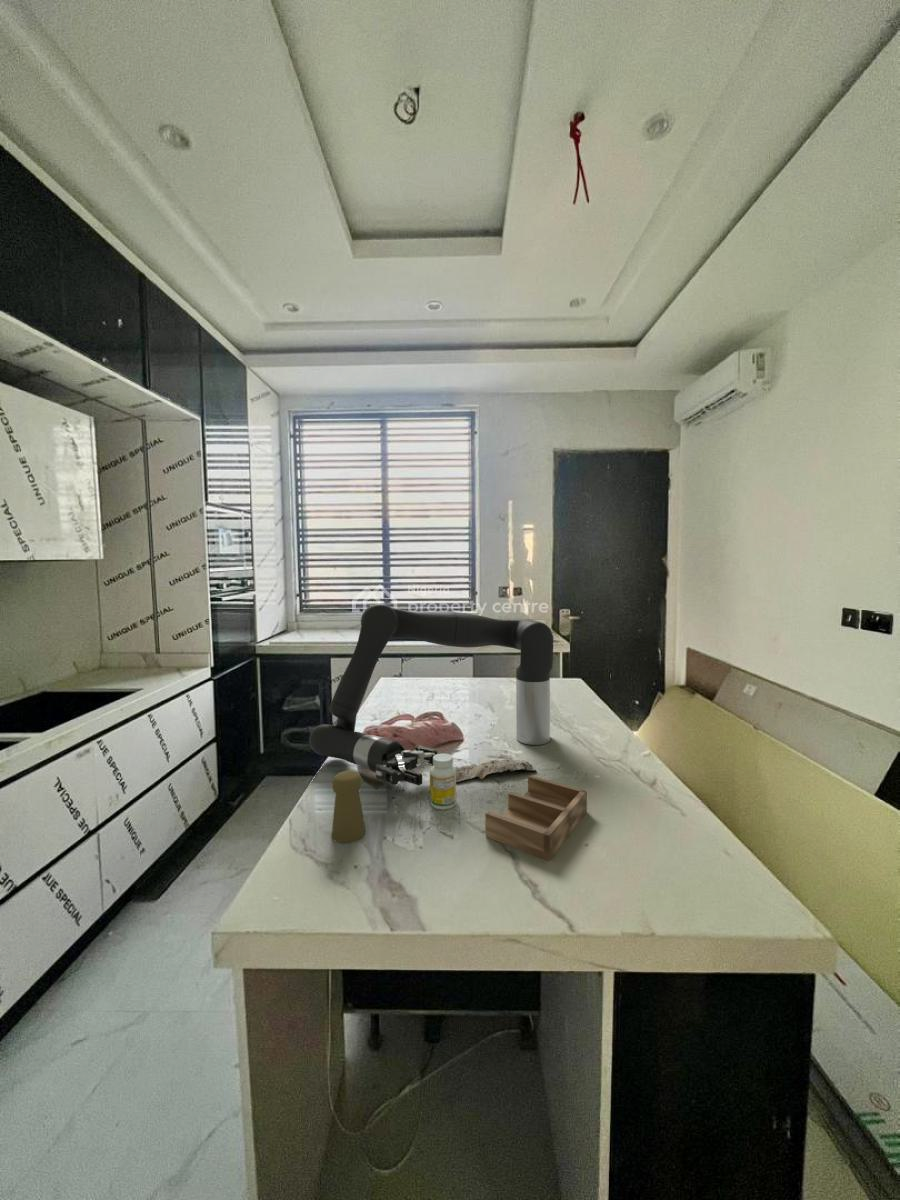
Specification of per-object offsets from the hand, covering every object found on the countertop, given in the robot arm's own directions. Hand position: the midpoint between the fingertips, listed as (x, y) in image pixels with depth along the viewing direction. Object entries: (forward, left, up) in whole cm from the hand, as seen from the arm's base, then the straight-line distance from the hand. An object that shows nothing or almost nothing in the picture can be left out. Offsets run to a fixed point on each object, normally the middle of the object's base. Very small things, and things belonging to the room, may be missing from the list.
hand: (434, 771), depth 92 cm
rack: (-4, +21, -6) cm, 22 cm away
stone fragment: (-16, +2, -7) cm, 17 cm away
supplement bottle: (0, +2, -6) cm, 7 cm away
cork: (+18, -6, -6) cm, 20 cm away
